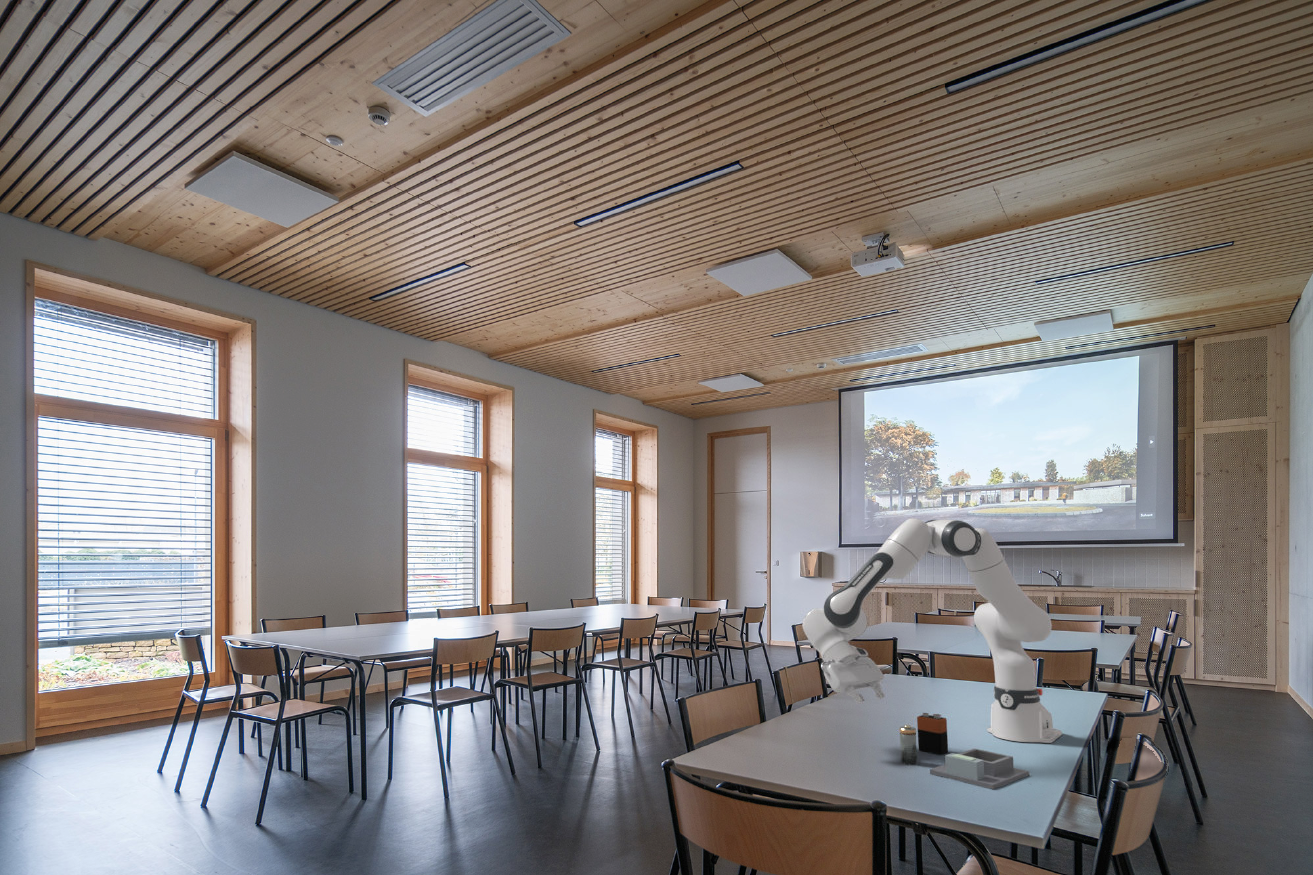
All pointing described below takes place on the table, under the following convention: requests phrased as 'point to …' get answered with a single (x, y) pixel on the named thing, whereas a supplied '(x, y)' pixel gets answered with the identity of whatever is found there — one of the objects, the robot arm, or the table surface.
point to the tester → (980, 768)
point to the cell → (908, 745)
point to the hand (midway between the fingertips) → (871, 699)
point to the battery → (932, 733)
